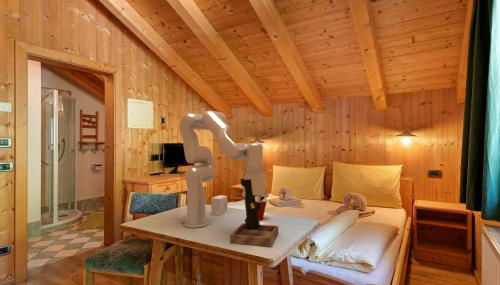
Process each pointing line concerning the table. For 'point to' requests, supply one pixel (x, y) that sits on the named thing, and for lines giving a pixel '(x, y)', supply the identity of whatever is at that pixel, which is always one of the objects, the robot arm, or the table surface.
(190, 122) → the robot arm
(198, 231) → the table surface
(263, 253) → the table surface
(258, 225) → the portable radio
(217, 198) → the skincare box
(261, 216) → the plastic cup
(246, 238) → the wooden tray
